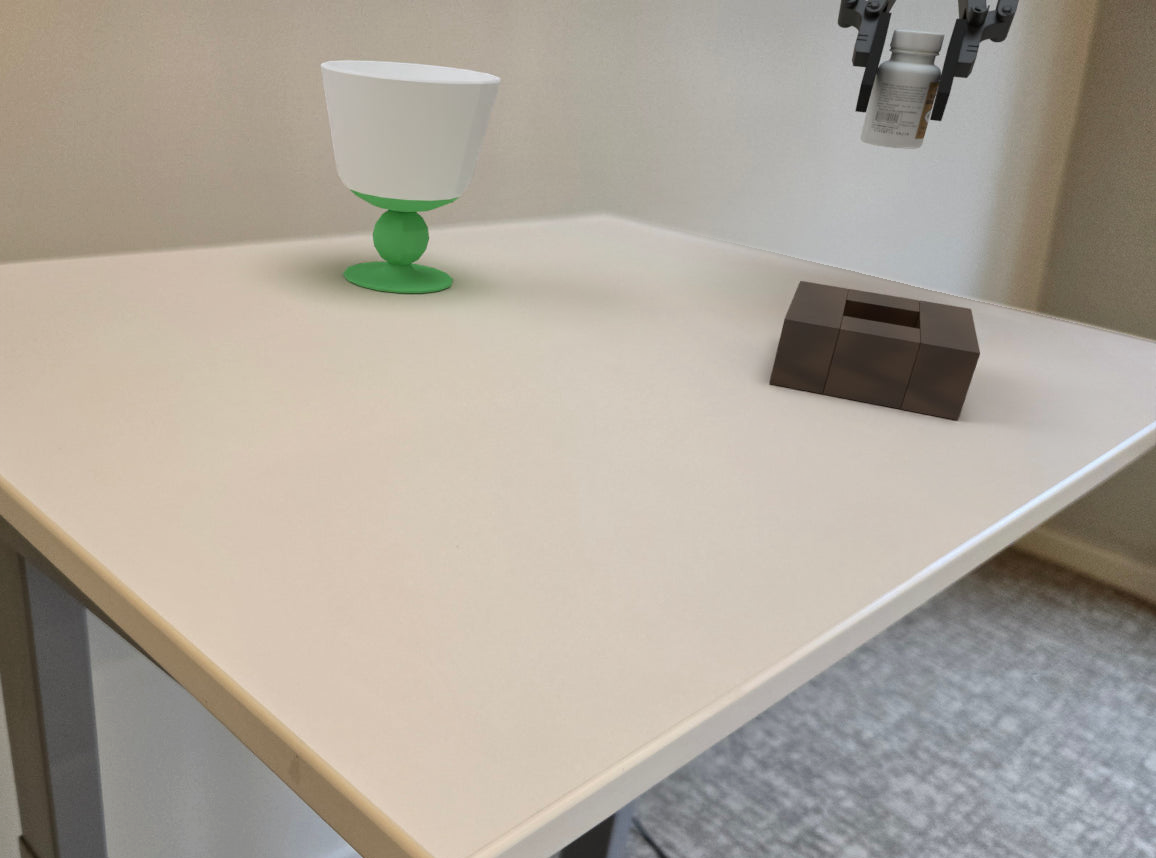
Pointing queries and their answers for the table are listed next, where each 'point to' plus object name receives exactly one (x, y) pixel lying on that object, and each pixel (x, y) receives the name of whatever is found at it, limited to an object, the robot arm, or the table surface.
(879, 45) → the robot arm
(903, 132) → the pill bottle
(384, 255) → the cup
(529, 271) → the table surface
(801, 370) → the holder
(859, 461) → the table surface
